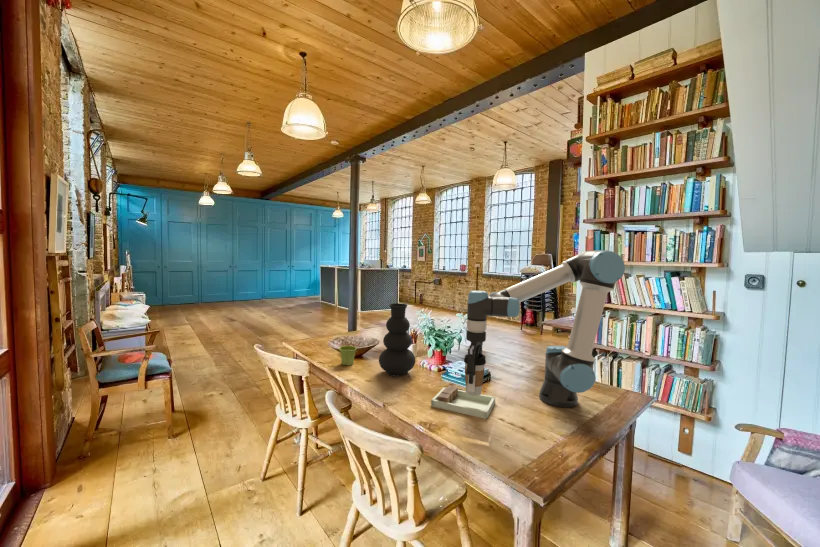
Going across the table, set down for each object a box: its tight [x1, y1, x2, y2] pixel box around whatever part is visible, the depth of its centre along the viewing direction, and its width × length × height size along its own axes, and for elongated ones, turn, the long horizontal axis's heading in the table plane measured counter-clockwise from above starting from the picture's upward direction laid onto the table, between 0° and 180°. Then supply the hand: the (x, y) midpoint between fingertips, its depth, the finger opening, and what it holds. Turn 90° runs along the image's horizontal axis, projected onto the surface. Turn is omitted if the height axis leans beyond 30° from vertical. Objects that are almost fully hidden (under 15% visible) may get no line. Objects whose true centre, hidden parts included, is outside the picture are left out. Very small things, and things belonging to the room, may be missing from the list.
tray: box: [430, 386, 496, 420], centre depth 139 cm, size 22×15×4 cm
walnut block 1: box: [438, 393, 450, 403], centre depth 138 cm, size 4×4×4 cm
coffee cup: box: [463, 353, 487, 396], centre depth 137 cm, size 8×8×15 cm
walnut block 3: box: [446, 385, 459, 400], centre depth 146 cm, size 4×4×4 cm
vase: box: [378, 302, 416, 377], centre depth 175 cm, size 18×18×35 cm
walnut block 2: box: [441, 389, 454, 403], centre depth 143 cm, size 4×4×4 cm
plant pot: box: [338, 345, 357, 366], centre depth 188 cm, size 9×9×9 cm
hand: (473, 387), depth 137 cm, fingers closed on coffee cup, 7 cm apart
